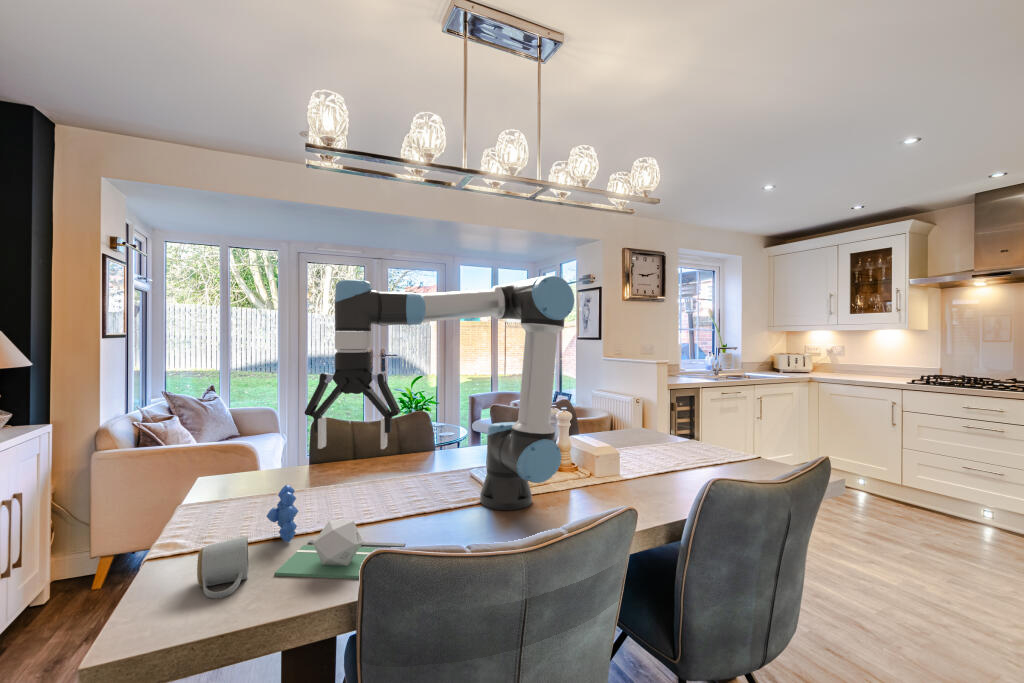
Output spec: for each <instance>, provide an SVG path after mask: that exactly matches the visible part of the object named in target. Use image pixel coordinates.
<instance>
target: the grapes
mask: <svg viewBox="0 0 1024 683" xmlns="http://www.w3.org/2000/svg"><path fill="white" fill-rule="evenodd" d="M294 493H295V489H294V488H293V487H292V486H291V485H289V484H286V485H284V486H283V487H282V488H281V490H280V491H279V492H278V495H277V496H278V498H279V499H280V500H279V501H278V503H277V504H276V507H275V506H274V507H272V508H270V510H269V511H268V512H267V514H266V518H267V519H268V520H269V521H270V522H271V523H277V526H279V528H280V529H279V531H278V534H279V537H280V538H281V539H282V540H283V541H284V542H286V543H289V542H291V540H293V539H294V537H295V535H296V534H297V532H296V531H295V530H296V529H297V527H298V525H297V524H296V523H295V522H294V519H295V518H296V516H297V514H298V512H299V509H298V508H297V507H296V506H295V505H294V503H295V501H296V500H297V497H296V496H295V495H294Z"/></svg>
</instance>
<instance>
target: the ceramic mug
mask: <svg viewBox="0 0 1024 683" xmlns="http://www.w3.org/2000/svg"><path fill="white" fill-rule="evenodd" d="M197 554H198V555H197V563H196V565H197V566H196V567H197V568H196V571H197V572H196V574H197V575H196V577H197V583H198V586H200V587H202V588H203V592H204V595H206V597H208V598H211V599H221V598H220V597H222V598H225V596H226V597H227V596H230V595H231V594H233V593H234V592H235V591H236V590H237V588H238V587H239V586H240V583H241V582H242V580H243V581H244V580H247V579H248V578H249V540H248V536H245V535H244V536H241V537H238V538H233V539H228V540H225V541H220V542H215V543H212V544H208V545H206V546H203V547H201V548H200V549H199V551H198V553H197ZM232 582H233V583H232ZM227 583H232V584H231V585H230V586H229V587H228V588H226V589H224V590H219V591H212V590H209V589H208V587H212V586H216V585H217V586H218V585H221V584H227Z"/></svg>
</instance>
